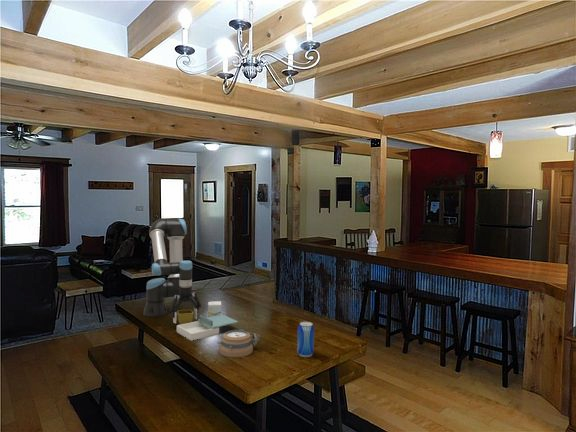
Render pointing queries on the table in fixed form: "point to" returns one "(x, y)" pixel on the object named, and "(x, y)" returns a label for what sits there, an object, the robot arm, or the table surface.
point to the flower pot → (185, 316)
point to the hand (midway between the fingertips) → (185, 320)
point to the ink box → (214, 308)
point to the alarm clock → (237, 343)
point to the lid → (216, 321)
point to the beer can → (305, 339)
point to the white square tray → (196, 330)
